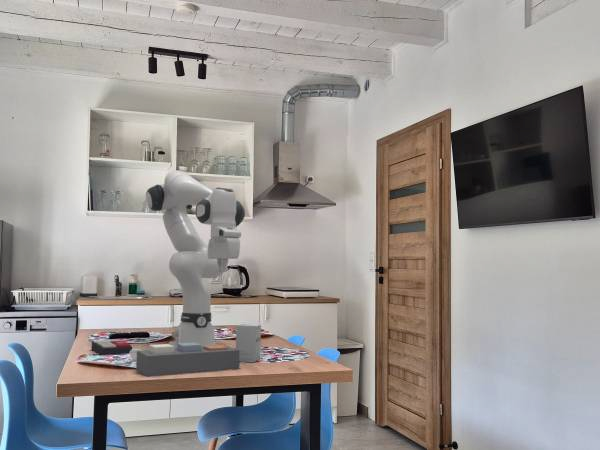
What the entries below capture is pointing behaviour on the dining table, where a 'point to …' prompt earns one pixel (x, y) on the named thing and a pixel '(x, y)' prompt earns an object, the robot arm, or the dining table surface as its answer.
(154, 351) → the cream key
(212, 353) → the key console
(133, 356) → the white curved piece
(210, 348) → the terracotta key
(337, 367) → the dining table surface
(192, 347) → the slate key
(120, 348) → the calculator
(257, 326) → the supplement box
